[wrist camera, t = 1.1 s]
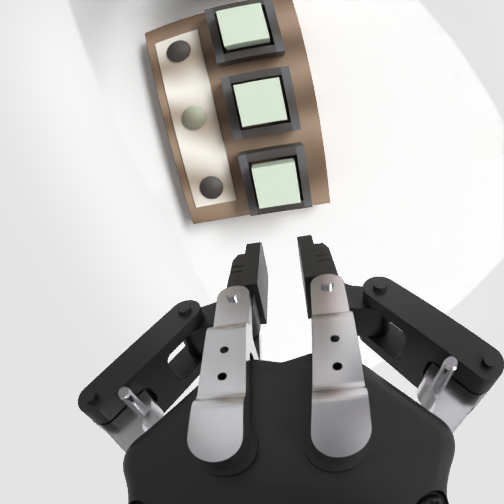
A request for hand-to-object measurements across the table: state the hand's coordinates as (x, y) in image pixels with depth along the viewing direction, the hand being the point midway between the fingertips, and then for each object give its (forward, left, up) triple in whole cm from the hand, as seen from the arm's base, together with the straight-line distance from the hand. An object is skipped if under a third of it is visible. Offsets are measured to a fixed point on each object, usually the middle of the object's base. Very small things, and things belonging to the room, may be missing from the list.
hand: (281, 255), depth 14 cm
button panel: (-8, -2, -19) cm, 21 cm away
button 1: (-16, 0, -15) cm, 22 cm away
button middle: (-8, 0, -15) cm, 17 cm away
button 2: (0, 0, -15) cm, 15 cm away
